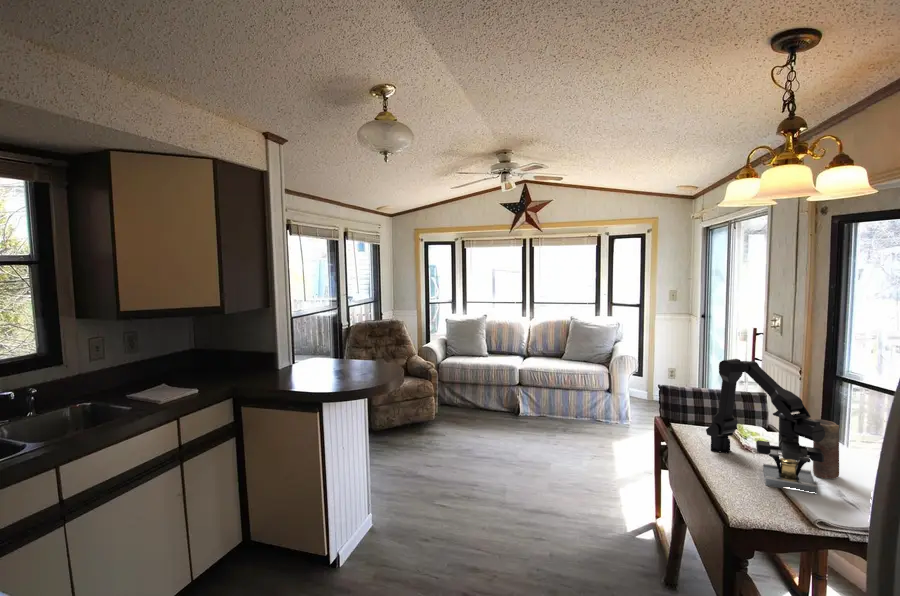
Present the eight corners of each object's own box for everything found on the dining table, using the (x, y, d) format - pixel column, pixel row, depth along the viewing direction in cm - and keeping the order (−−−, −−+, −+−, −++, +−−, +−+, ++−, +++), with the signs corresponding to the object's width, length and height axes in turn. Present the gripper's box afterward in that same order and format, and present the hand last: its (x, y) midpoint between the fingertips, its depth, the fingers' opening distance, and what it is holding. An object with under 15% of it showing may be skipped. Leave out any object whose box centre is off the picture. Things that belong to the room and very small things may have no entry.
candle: (814, 468, 168) (814, 416, 166) (840, 474, 163) (841, 421, 161) (811, 476, 163) (811, 422, 161) (837, 482, 157) (838, 427, 156)
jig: (765, 485, 158) (765, 477, 158) (763, 471, 168) (763, 463, 168) (816, 494, 151) (816, 485, 151) (810, 478, 161) (810, 470, 161)
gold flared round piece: (780, 479, 159) (780, 462, 158) (778, 472, 163) (778, 456, 162) (798, 482, 156) (798, 465, 155) (796, 475, 160) (796, 459, 160)
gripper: (758, 435, 156) (758, 478, 157) (827, 444, 146) (826, 490, 148) (756, 424, 166) (755, 465, 167) (821, 432, 156) (820, 475, 157)
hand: (788, 474), depth 159 cm, fingers closed on gold flared round piece, 4 cm apart
